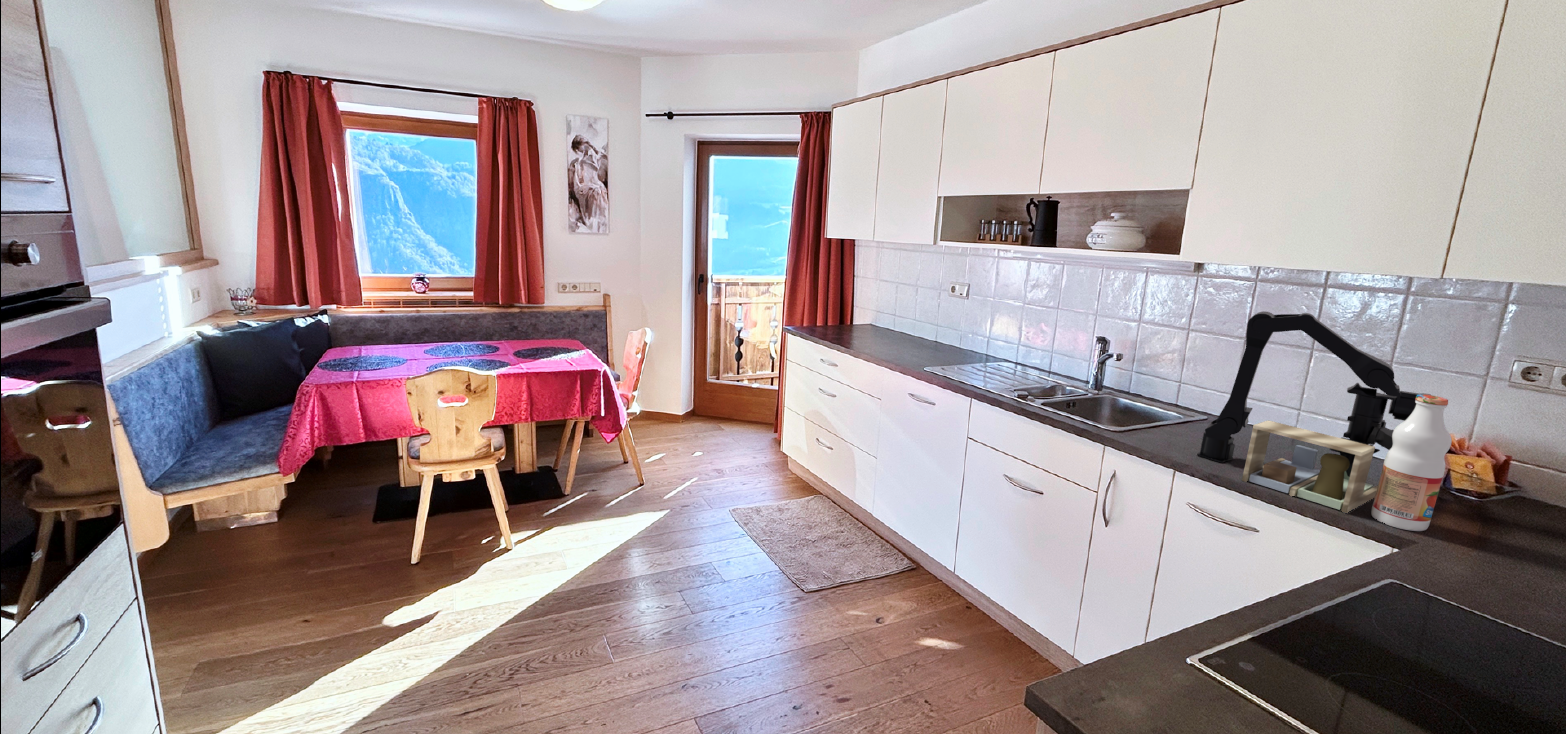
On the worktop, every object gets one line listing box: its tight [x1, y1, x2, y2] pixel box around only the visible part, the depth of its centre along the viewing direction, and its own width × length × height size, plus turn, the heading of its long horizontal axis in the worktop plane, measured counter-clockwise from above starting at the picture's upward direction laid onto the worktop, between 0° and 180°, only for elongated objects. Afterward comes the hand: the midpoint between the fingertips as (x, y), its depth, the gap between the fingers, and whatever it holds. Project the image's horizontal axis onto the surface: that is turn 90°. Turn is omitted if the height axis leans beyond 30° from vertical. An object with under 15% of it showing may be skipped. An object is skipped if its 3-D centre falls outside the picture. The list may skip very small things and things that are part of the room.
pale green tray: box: [1296, 471, 1374, 511], centre depth 159 cm, size 8×20×7 cm, turn 124°
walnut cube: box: [1262, 460, 1297, 485], centre depth 165 cm, size 5×5×5 cm
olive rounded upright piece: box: [1311, 452, 1350, 501], centre depth 156 cm, size 6×6×11 cm
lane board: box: [1241, 420, 1378, 514], centre depth 163 cm, size 21×22×14 cm
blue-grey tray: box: [1248, 444, 1321, 494], centre depth 167 cm, size 8×20×7 cm, turn 124°
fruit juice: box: [1371, 393, 1453, 532], centre depth 144 cm, size 9×9×28 cm
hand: (1351, 476), depth 165 cm, fingers closed on pale green tray, 2 cm apart
